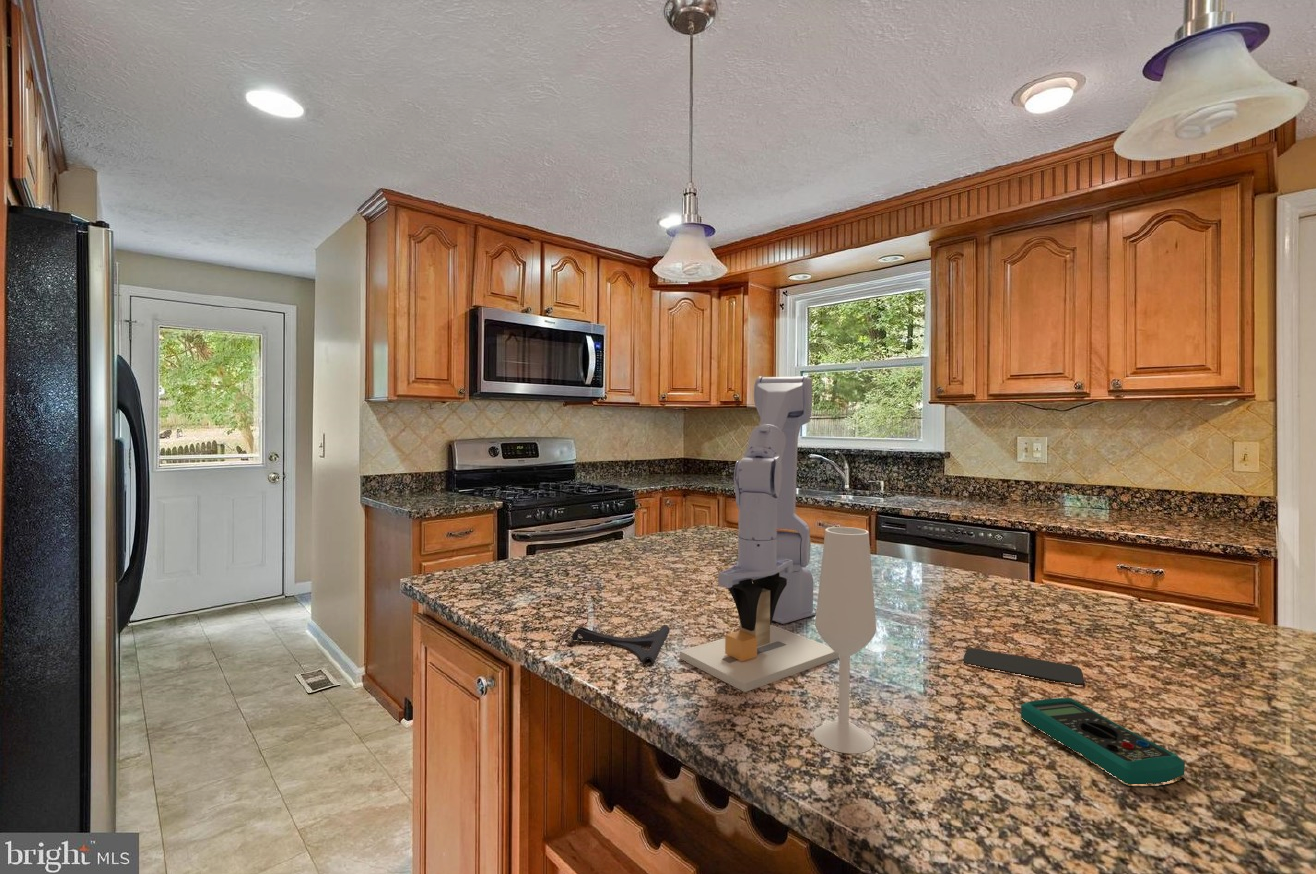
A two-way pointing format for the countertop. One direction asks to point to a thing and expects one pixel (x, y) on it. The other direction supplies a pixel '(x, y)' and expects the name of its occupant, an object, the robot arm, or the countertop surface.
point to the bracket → (630, 641)
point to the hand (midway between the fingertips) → (756, 626)
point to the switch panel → (760, 659)
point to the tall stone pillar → (762, 620)
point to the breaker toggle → (741, 645)
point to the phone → (1024, 666)
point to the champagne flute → (845, 624)
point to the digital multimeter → (1103, 741)
